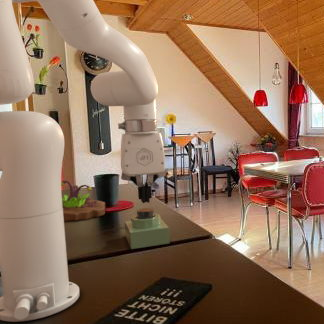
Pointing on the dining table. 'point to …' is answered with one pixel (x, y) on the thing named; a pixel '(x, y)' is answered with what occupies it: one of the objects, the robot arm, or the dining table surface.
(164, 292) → the dining table surface
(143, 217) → the dark round button cap
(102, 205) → the plant
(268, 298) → the dining table surface
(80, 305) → the dining table surface
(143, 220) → the button base
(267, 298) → the dining table surface
